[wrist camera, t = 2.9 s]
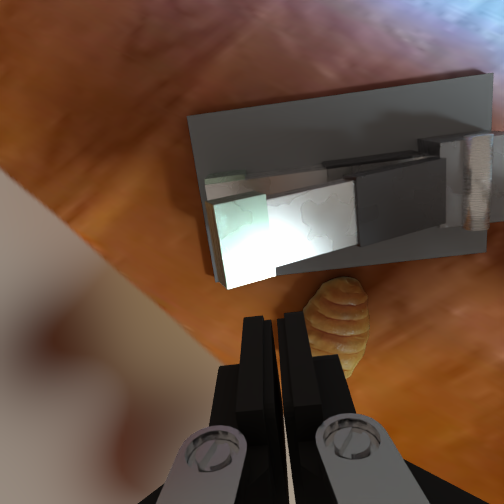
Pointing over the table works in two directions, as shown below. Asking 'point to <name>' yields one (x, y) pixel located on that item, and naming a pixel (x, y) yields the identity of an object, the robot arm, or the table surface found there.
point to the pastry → (339, 321)
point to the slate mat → (347, 151)
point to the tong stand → (445, 146)
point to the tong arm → (323, 218)
